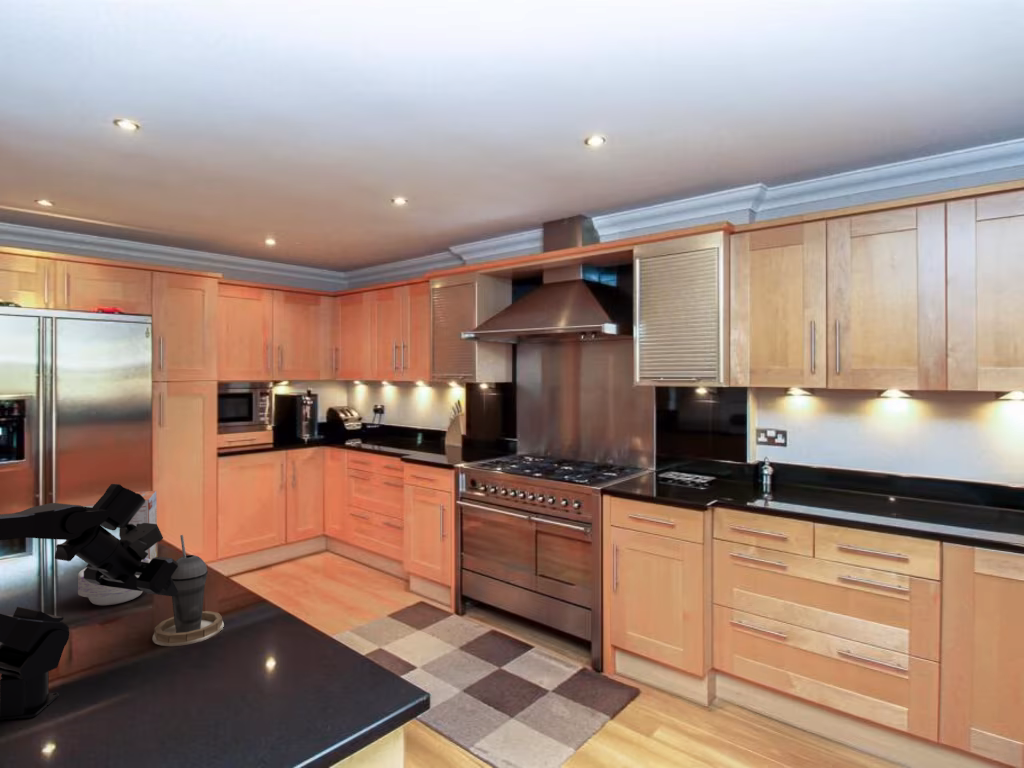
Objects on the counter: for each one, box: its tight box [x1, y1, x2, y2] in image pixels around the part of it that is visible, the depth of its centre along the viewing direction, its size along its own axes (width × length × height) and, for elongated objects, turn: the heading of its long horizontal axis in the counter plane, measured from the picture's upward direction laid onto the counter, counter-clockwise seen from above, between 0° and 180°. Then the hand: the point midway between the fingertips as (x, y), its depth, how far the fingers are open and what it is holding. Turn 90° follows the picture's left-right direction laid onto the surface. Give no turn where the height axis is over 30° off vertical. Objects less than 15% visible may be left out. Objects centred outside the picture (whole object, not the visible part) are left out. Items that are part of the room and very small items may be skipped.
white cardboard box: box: [128, 490, 158, 560], centre depth 162 cm, size 14×6×21 cm, turn 25°
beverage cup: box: [171, 534, 208, 633], centre depth 119 cm, size 7×7×20 cm
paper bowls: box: [77, 558, 151, 606], centre depth 138 cm, size 15×15×8 cm
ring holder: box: [152, 610, 225, 647], centre depth 119 cm, size 13×13×2 cm
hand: (159, 591), depth 113 cm, fingers open, 9 cm apart
